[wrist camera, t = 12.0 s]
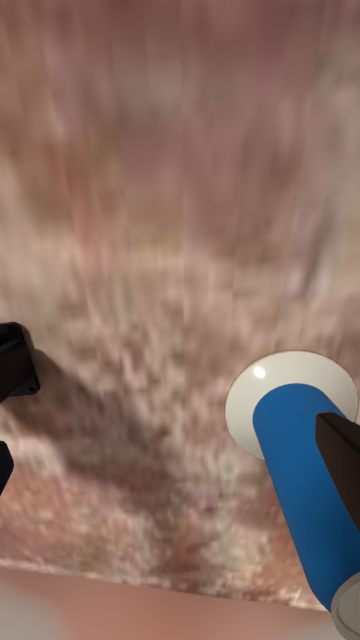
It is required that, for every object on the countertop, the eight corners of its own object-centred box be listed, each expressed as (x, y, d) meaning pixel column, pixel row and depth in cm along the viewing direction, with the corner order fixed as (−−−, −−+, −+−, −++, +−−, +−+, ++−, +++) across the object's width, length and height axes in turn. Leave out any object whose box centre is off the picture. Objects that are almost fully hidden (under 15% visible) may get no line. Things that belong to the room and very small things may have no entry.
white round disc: (229, 462, 23) (230, 467, 23) (219, 357, 20) (220, 360, 20) (349, 452, 23) (353, 458, 22) (357, 342, 20) (362, 345, 19)
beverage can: (279, 454, 22) (375, 677, 11) (234, 408, 21) (288, 603, 10) (342, 415, 21) (531, 622, 9) (298, 362, 20) (452, 528, 8)
